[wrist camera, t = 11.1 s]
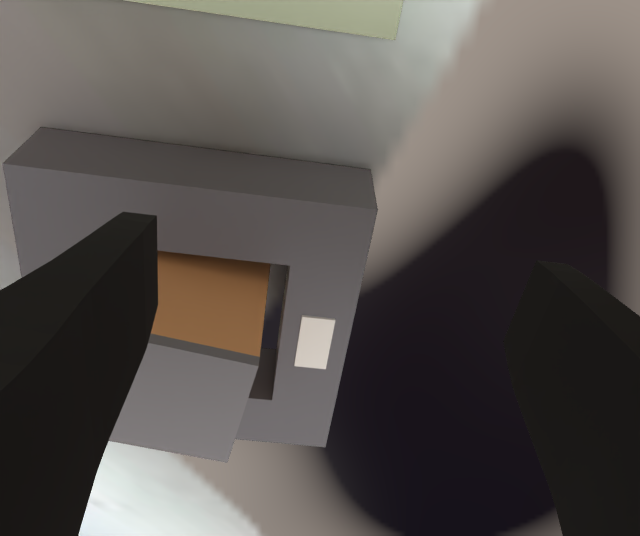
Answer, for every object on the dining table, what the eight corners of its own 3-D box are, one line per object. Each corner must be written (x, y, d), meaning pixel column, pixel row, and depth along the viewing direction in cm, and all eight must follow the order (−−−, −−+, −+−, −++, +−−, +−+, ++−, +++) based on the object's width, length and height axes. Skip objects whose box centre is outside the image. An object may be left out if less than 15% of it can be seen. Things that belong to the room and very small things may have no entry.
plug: (141, 303, 25) (88, 436, 19) (156, 211, 22) (100, 332, 17) (247, 326, 26) (227, 462, 20) (273, 240, 23) (258, 366, 17)
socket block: (71, 370, 27) (45, 424, 24) (40, 127, 21) (1, 164, 18) (324, 394, 28) (325, 449, 25) (370, 169, 21) (377, 211, 19)
